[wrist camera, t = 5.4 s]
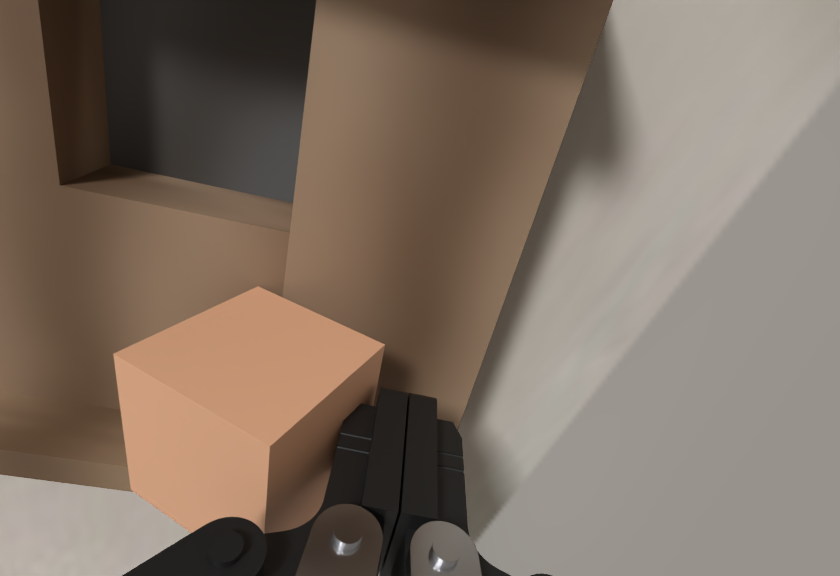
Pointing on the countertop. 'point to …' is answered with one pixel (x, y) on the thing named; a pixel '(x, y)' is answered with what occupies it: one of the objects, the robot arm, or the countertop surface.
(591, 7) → the box
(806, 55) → the countertop surface
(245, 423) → the terracotta block
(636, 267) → the countertop surface
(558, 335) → the countertop surface
